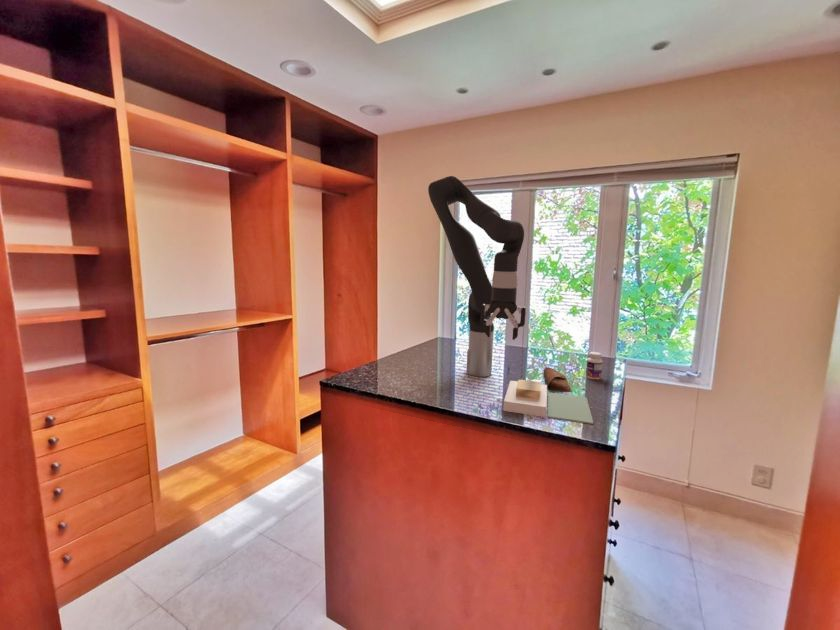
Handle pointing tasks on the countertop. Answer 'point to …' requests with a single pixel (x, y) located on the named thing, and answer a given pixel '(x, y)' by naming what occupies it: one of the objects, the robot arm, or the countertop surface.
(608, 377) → the countertop surface
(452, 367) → the countertop surface
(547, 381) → the sunglasses case
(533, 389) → the birch tile
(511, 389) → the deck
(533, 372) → the countertop surface
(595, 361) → the pill bottle
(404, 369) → the countertop surface
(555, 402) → the mat
